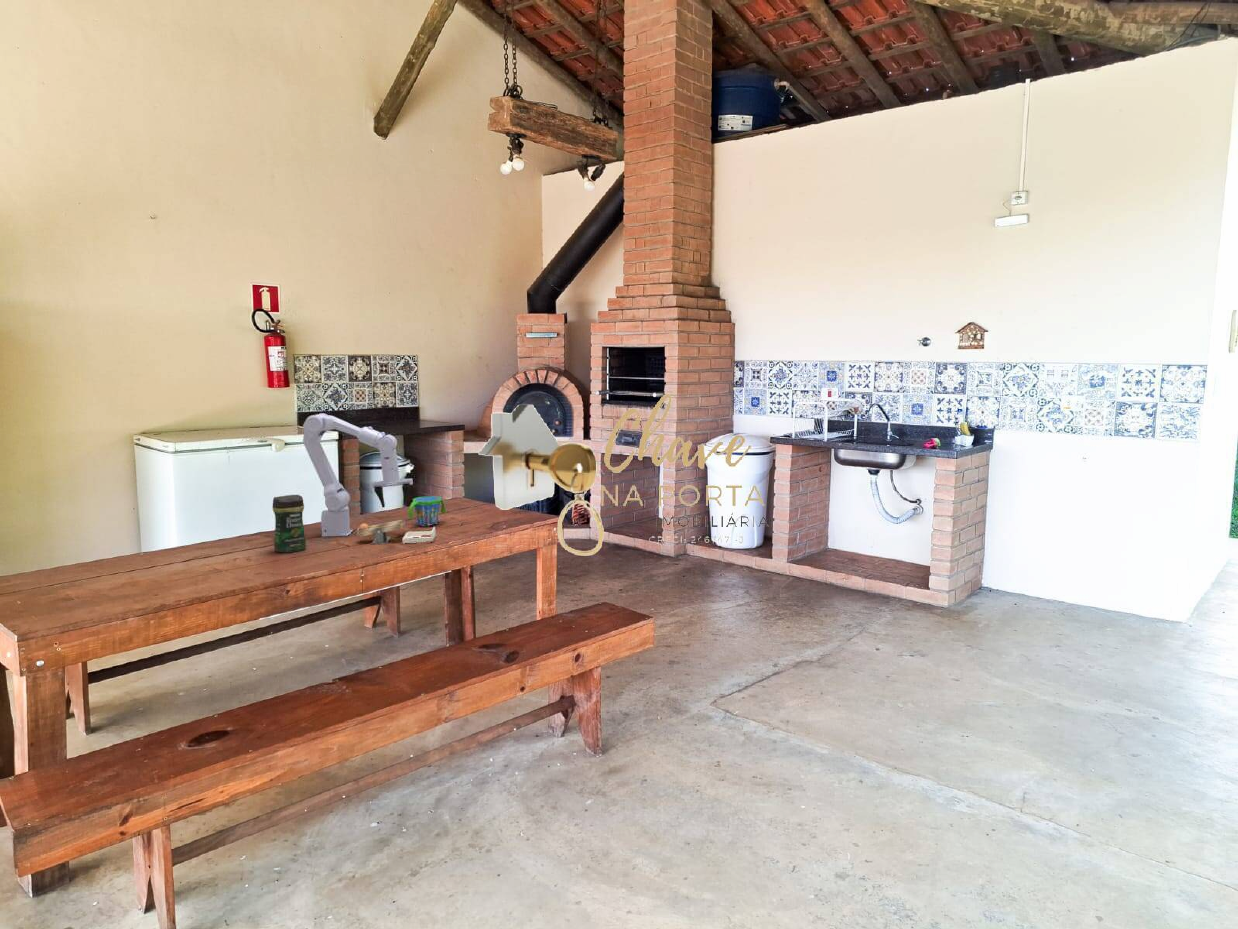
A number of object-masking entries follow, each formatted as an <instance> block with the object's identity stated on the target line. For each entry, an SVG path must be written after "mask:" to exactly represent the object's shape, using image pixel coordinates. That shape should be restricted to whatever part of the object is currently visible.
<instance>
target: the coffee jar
mask: <svg viewBox="0 0 1238 929" xmlns="http://www.w3.org/2000/svg"><path fill="white" fill-rule="evenodd" d="M271 509H272V511H273V514H274V517H275V519H274V520H275V521H274V522H275V523H274V524H275V525H274V526H275V527H274V528H275V529H274V542H273V544H274V548H273V549H274V550H275V551H276V552H277V553H292V552H293V553H294V552H299V551H303V550H305V549H306V548H307V541H306V535H305V534H306V533H305V527H304V522H303V521H304V520H303V512H304V509H305V503H304V498H303V496H302V495H299V494H287V495H281V496H274V497H273V499H272V508H271Z"/></svg>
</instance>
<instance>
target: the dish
mask: <svg viewBox="0 0 1238 929" xmlns="http://www.w3.org/2000/svg"><path fill="white" fill-rule="evenodd" d="M422 535H431V537H421V536H422ZM413 537H419V538H413ZM434 537H435V538H436V526H433V528H432V529H431V530H427V531H425V530H424V531H422V530H421V531H419V530H418V531H407V532H405V534H404V536H403V537H402V545H406V544H405V543H416V542H417V543H418V542H426V541H433V539H434V540H435V538H434ZM433 542H434V541H433ZM418 544H419V543H418Z"/></svg>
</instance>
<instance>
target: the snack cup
mask: <svg viewBox="0 0 1238 929" xmlns="http://www.w3.org/2000/svg"><path fill="white" fill-rule="evenodd" d="M440 505H441V506H440ZM440 507H441V508H440ZM408 508H409V509H408V517H409V519H410V520H414V511H415V519H416V522H417V523H416V524H417V525H418V524H420V525H428V524H436V523H437V522H439V516H440V513H441V514H443V515H445V513H446V504H445V501H444V500H443V499H442V498H441V497H439V496H418V497H415V498H413V499H412V502H411V503H410V505H409V507H408ZM437 524H438V523H437Z"/></svg>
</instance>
